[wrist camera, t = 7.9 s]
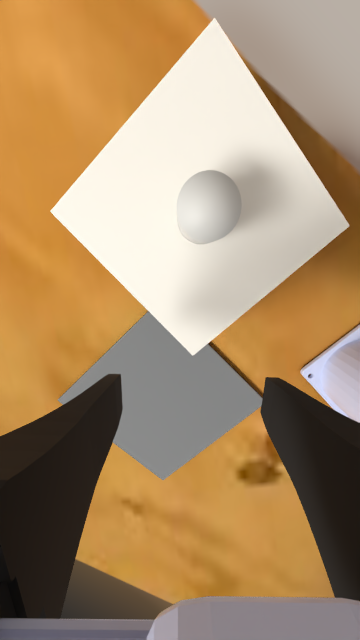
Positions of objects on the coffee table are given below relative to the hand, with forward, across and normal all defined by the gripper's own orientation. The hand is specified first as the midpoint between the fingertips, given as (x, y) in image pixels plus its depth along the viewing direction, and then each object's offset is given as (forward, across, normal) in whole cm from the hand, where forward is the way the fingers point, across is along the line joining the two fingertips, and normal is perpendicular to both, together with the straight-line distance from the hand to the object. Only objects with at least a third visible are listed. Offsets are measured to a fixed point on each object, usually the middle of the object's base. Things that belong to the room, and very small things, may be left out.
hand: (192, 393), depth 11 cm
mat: (+10, +2, +8) cm, 13 cm away
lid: (+6, 0, -9) cm, 11 cm away
